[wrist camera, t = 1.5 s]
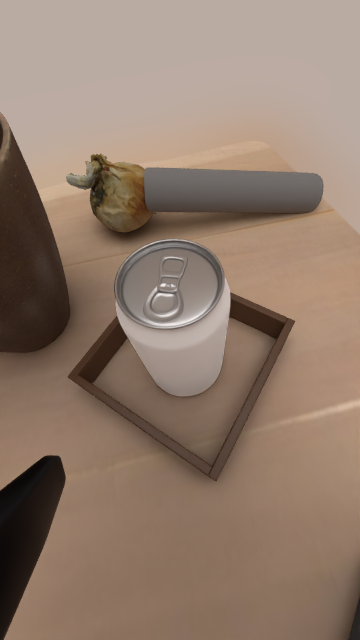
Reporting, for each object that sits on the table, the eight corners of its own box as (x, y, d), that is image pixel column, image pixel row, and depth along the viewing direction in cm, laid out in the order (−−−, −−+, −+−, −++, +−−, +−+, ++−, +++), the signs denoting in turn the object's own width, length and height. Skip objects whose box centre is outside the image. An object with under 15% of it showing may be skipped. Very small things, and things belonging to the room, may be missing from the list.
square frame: (215, 480, 20) (216, 481, 17) (82, 386, 24) (66, 376, 21) (285, 336, 24) (295, 320, 22) (164, 280, 29) (160, 261, 26)
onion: (131, 255, 31) (109, 191, 24) (85, 226, 33) (53, 162, 26) (174, 216, 33) (166, 148, 26) (128, 192, 36) (109, 125, 29)
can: (142, 392, 23) (88, 329, 13) (157, 325, 26) (124, 229, 16) (218, 403, 22) (228, 345, 12) (225, 333, 25) (238, 235, 15)
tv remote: (142, 167, 28) (143, 162, 26) (315, 173, 31) (325, 169, 29) (144, 212, 29) (145, 209, 27) (311, 213, 32) (321, 211, 30)
